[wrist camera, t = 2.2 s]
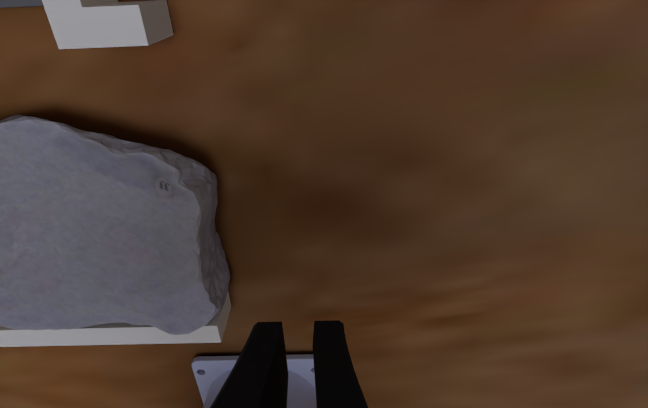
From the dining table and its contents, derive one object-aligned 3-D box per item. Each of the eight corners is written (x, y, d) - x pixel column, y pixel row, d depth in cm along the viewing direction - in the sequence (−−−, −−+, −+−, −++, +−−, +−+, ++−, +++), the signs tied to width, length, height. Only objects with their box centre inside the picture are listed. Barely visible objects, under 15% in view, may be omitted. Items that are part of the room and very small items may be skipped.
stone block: (-24, 101, 19) (16, 288, 22) (-131, 112, 14) (-60, 346, 17) (232, 116, 19) (234, 295, 23) (209, 130, 15) (216, 352, 18)
